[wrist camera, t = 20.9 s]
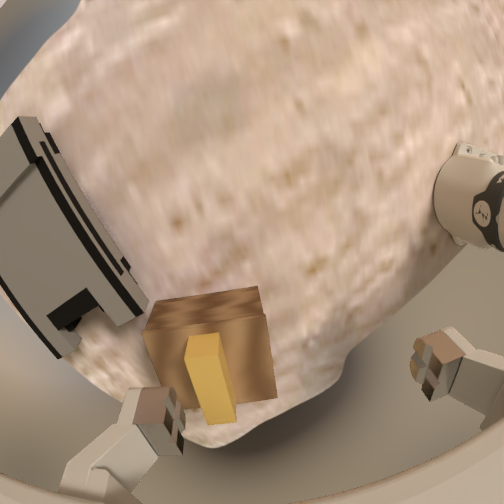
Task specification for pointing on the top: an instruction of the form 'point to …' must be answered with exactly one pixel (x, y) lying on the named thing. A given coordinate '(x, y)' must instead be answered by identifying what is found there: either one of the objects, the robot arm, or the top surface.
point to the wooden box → (205, 308)
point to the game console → (56, 243)
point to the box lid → (235, 350)
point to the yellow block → (211, 378)
